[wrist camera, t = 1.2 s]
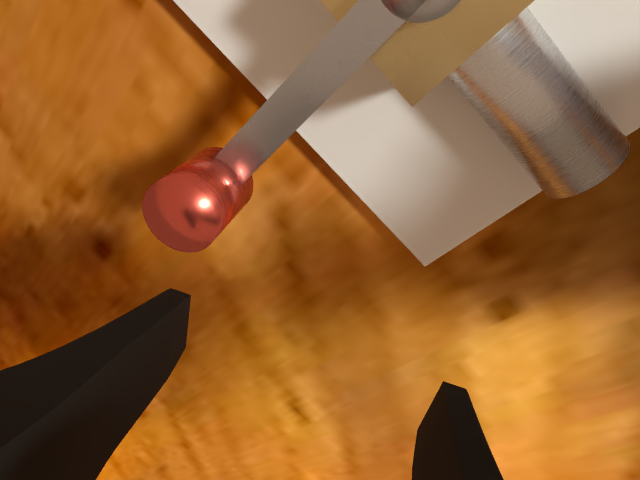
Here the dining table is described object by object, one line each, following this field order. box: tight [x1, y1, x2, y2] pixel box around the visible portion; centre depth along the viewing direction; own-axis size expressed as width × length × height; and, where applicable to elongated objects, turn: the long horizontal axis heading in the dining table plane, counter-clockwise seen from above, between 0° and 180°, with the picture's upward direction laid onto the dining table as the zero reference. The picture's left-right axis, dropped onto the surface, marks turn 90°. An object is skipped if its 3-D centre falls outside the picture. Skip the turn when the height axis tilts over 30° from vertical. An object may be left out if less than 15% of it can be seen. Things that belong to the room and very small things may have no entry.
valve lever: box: [142, 0, 461, 252], centre depth 13 cm, size 11×2×3 cm, turn 135°
